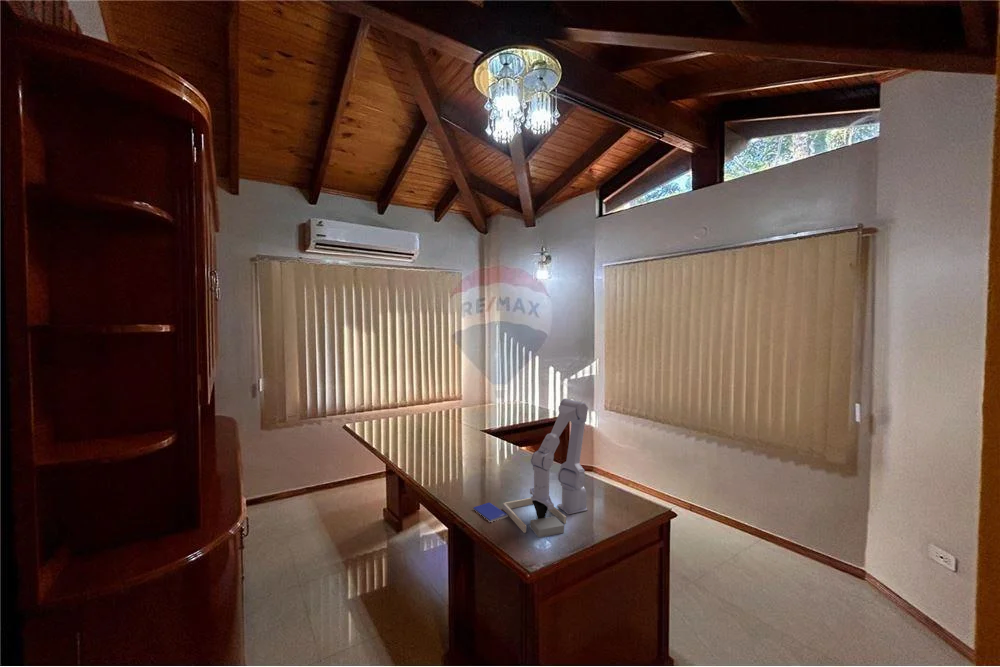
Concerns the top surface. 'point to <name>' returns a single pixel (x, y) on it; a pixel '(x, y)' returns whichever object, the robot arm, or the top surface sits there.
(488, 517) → the hard drive
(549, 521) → the gray rectangular block
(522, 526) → the beige u-shaped frame
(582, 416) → the robot arm
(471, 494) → the top surface
